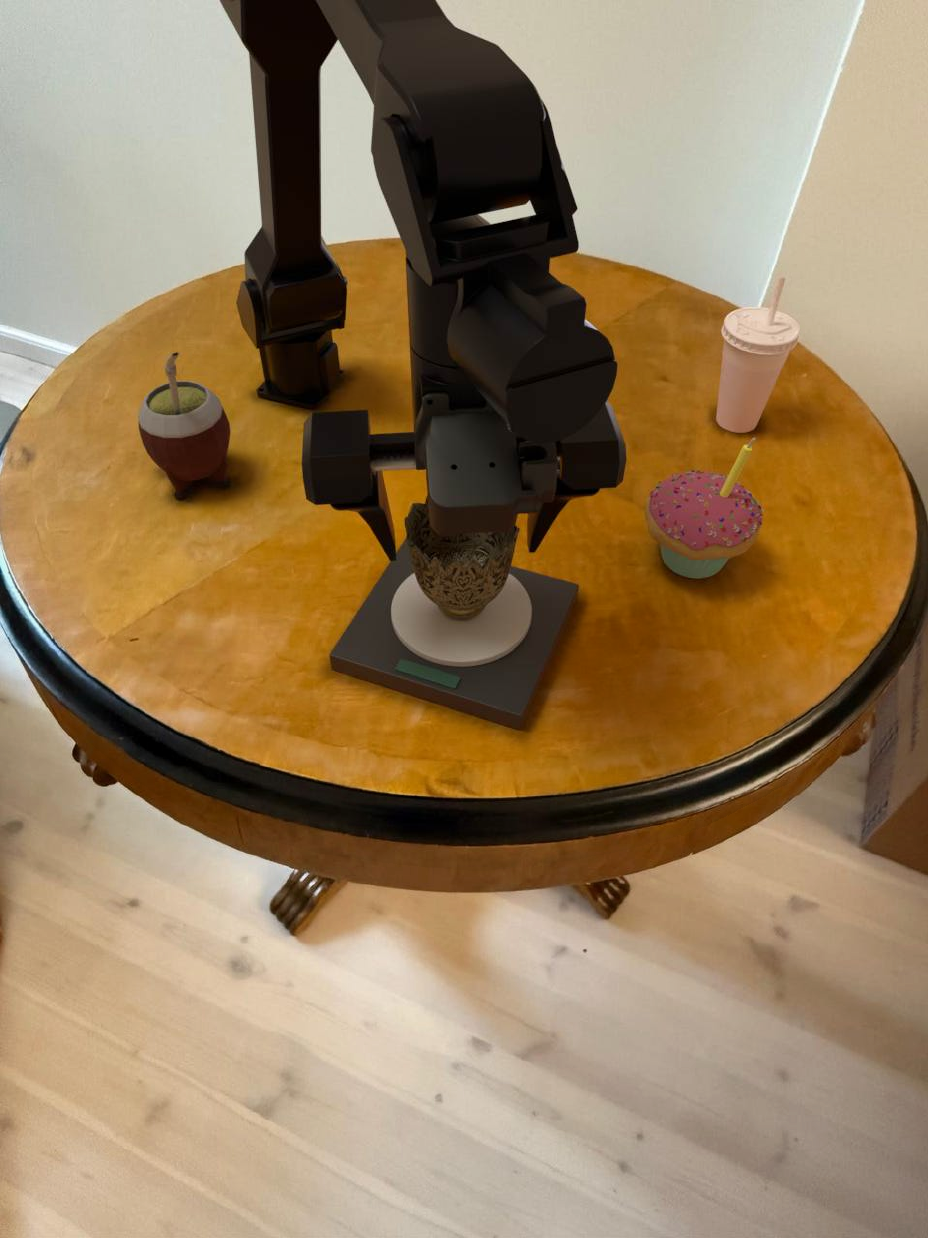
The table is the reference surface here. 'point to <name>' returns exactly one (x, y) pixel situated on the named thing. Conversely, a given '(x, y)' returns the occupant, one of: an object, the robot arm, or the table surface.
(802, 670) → the table surface
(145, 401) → the mate gourd
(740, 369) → the smoothie
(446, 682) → the scale
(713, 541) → the cupcake
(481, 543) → the cup
